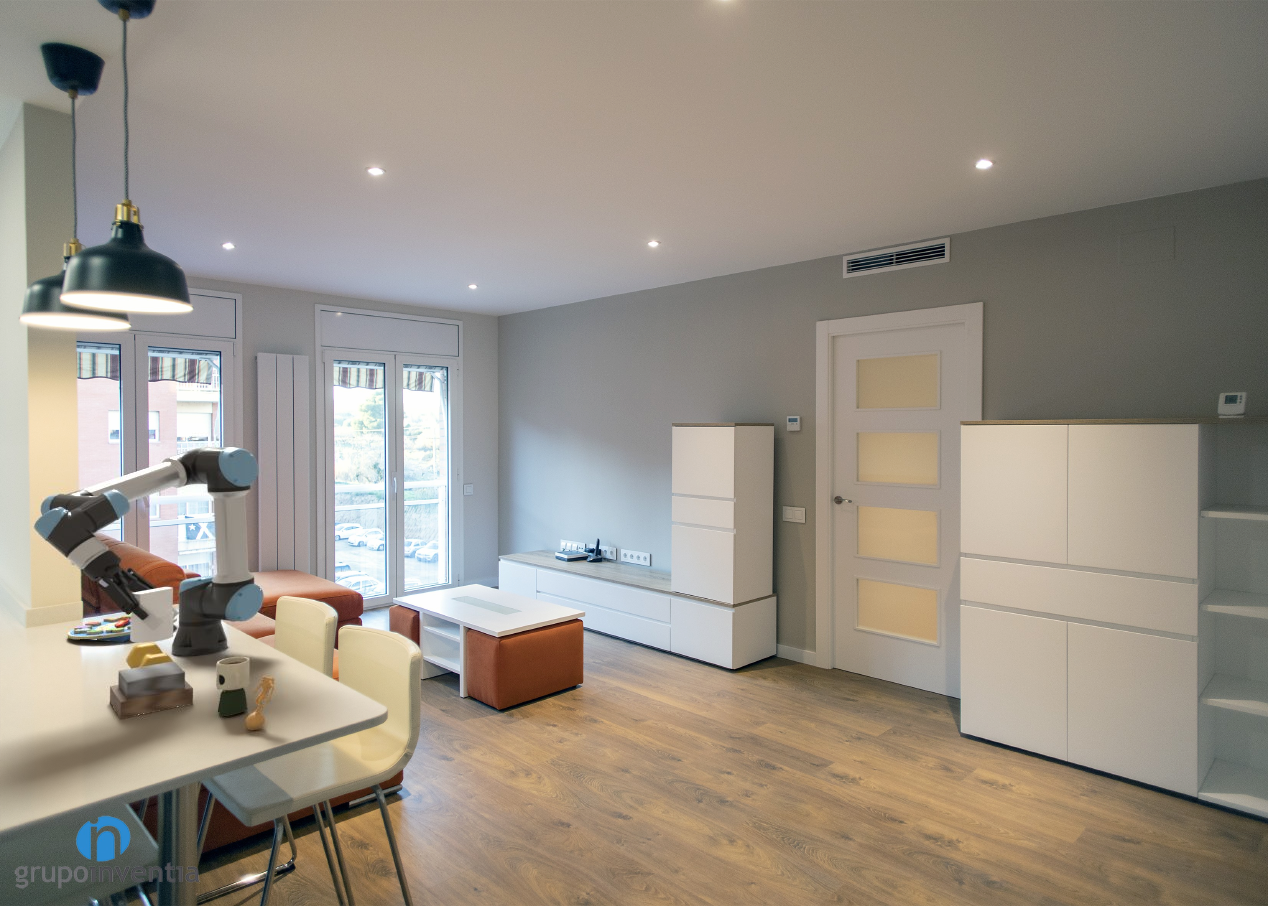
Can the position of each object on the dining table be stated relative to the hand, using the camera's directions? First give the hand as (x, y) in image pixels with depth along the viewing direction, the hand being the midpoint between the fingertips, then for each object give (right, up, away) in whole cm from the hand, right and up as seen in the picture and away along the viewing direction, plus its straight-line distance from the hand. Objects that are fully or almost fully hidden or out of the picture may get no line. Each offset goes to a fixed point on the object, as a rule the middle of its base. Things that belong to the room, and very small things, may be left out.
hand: (166, 621), depth 180 cm
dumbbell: (-17, -21, +19) cm, 32 cm away
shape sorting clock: (-57, -20, +64) cm, 88 cm away
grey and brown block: (-3, -21, -1) cm, 21 cm away
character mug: (+20, -21, -7) cm, 30 cm away
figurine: (+32, -21, -15) cm, 41 cm away
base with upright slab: (-3, -4, -1) cm, 5 cm away
